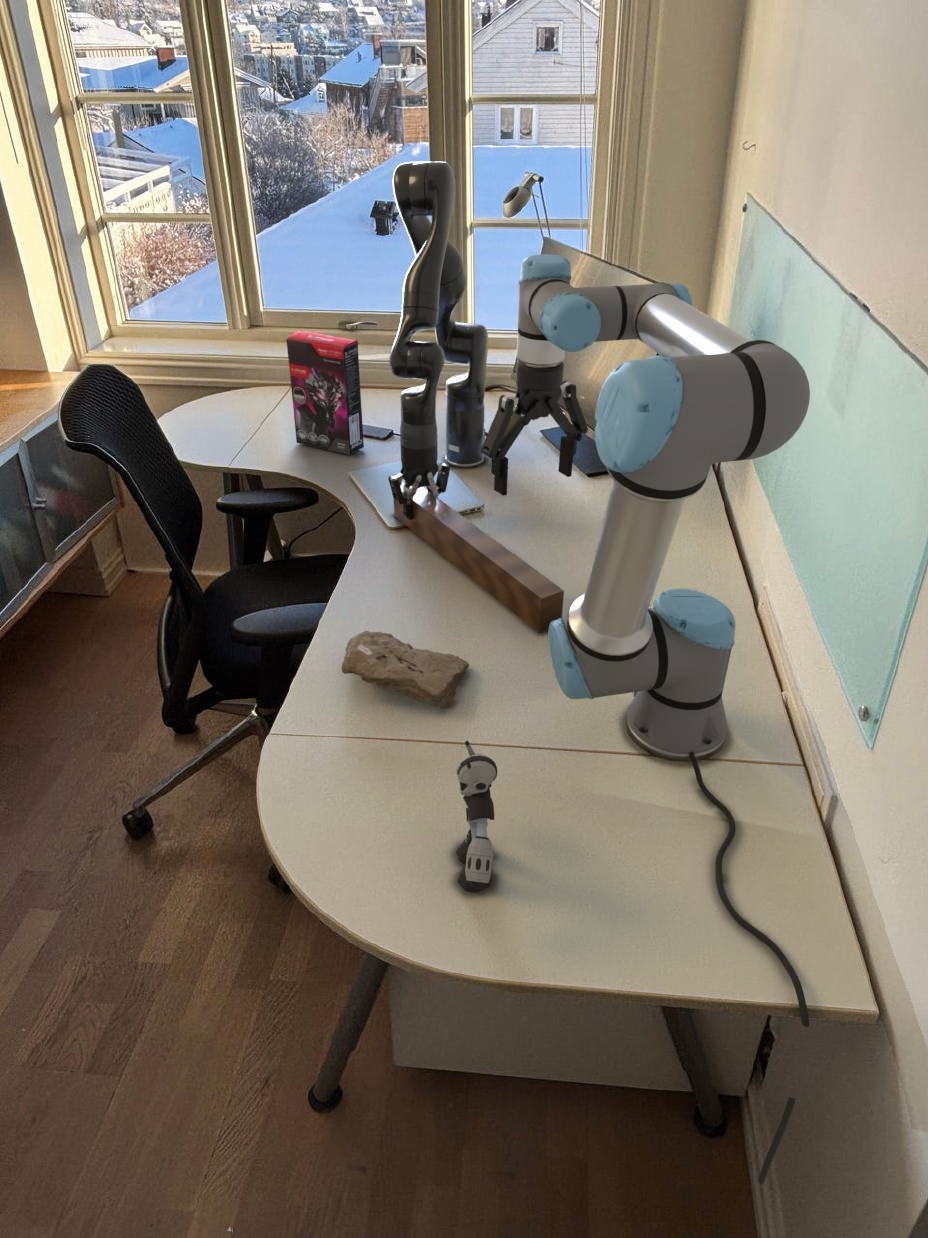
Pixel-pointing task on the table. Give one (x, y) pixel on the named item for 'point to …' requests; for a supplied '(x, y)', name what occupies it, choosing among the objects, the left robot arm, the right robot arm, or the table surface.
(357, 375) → the graphics card box
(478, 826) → the robot
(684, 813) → the table surface
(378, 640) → the stone
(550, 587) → the beam
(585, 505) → the table surface
